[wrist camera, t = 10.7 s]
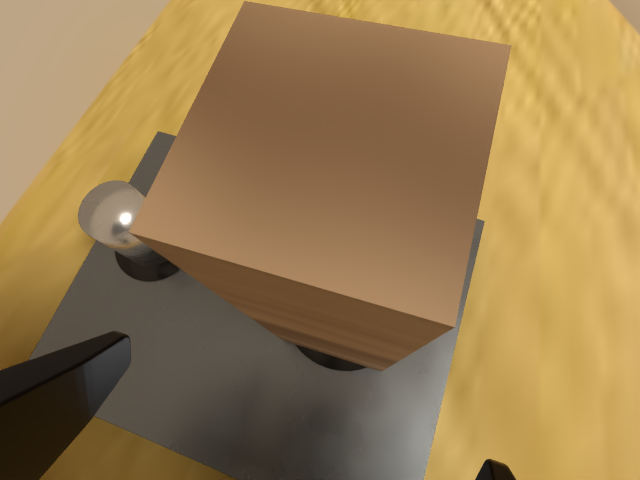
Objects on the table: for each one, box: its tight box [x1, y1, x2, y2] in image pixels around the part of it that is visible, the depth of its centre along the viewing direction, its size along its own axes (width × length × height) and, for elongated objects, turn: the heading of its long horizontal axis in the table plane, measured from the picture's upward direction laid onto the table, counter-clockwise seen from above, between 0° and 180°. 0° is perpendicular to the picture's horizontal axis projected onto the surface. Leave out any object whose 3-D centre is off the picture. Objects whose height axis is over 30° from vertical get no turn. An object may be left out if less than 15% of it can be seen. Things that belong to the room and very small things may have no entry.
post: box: [129, 1, 511, 372], centre depth 12 cm, size 4×4×13 cm
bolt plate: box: [29, 131, 484, 480], centre depth 17 cm, size 14×18×5 cm
